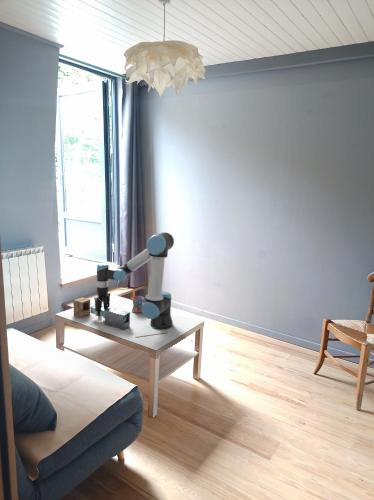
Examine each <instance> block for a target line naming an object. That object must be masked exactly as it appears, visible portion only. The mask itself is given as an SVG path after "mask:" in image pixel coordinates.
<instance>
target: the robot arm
mask: <svg viewBox="0 0 374 500" xmlns="http://www.w3.org/2000/svg"><path fill="white" fill-rule="evenodd" d="M174 245H175V239H174V236H173V235H172V234H171V233H169V232H161V233H156V234H153V235H152V236H150V237H149V238H148V239H147V242H146V248H145V249H144V250H142V251H141V252H140V253H138V254H137V255H136V256H134V257H133V258H131V259H130V260H129V261H127V262H125V263H124V264H123V265H120V266H119V267H116V268H114V267H110V266H109V264H108V263H106V262H103V263H102V262H100V263H98V264H97V265H96V293H97V296H95V297H94V298H93V299H94V305H95V311H97V314H98V316H97V320H98V321H103V320H102V318H103V319H105V317H103V316H102V311H101V307H102V306H103V307H104V308H107V309H108V308H111V307H110V303H111V301H110V300H111V298H110V297H111V293H109V280H113V281H117V282H123V281H124V280H125V279H126V277H127V276H129V275H131V274H133V273H134V272H135V271H137V269H139V268H141V267H142V266H143V265H145V264H146V263H147V262H149V261H150V266H149V278H148V279H149V280H148V290H147V294H146V295H145V296H144V298H145V299H144V301H145V303H144V302H143V303H144V304H143V305H142V308H141V310H142V312H141V313H142V314H143V316H144V317H145V318H147V319H148V320H149V319H150V327H151V328H154V329H158V330H166V329H167V330H168V329H170V328H172V327H173V325H174V324H173V320H172V316H171V315H172V314H171V310H172V309H171V307H172V294H171V293H170V292H169V291H168V292H167V291H163V283H164V282H163V281H164V280H163V279H164V271H165V270H164V269H165V261H166V260H165V259H166V258H167V257H168V255H169V254H168V253H169V250H171V249H172V248H173V246H174Z"/></svg>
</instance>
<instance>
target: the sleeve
mask: <svg viewBox="0 0 374 500" xmlns="http://www.w3.org/2000/svg"><path fill="white" fill-rule="evenodd" d="M125 315H127V320H126V321H124V316H125ZM130 324H131V312H130V311H126V310H123V309H119V308H115V307H112V306H111V307H108V309H106V310H105V318H104V325H105V326H108V327H111V328H115V329H118V330H120V331H125V330H127V329H129V328H130Z"/></svg>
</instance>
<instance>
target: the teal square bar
mask: <svg viewBox="0 0 374 500" xmlns="http://www.w3.org/2000/svg"><path fill="white" fill-rule="evenodd" d="M106 309H107V308H104V305H102V307H101V311H102V318H103V317H105V310H106ZM90 314H92V315H95V317H98V314H97V311H95V304H94V305H92V306H91V305H90ZM126 320H127V315H125V316H124V321H126Z"/></svg>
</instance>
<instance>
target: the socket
mask: <svg viewBox="0 0 374 500" xmlns="http://www.w3.org/2000/svg"><path fill="white" fill-rule="evenodd" d="M73 316H75V317H76V318H81V319H84V318H86V317H89V316H91V299H89V298H87V297H79V298H76V299H73ZM83 317H84V318H83Z"/></svg>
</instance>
